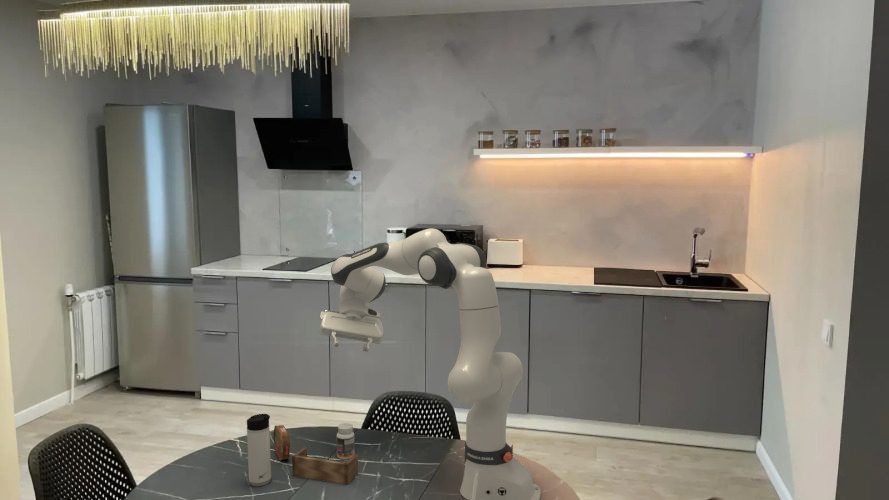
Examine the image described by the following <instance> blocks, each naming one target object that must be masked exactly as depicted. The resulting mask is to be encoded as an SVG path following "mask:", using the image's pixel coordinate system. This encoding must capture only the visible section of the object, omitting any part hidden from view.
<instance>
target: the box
mask: <svg viewBox="0 0 889 500" xmlns="http://www.w3.org/2000/svg"><path fill="white" fill-rule="evenodd" d="M358 456H359V455H358V454H356V453H355V454H354V455H353V456H352V457H351V458H350V459H347V460H346V462H343V461H336V460H329V459H323V458H322V459H321V458H316V457H309V456H308V447H306V446H304V447H302V448H301V449H300V450H298V451H297V452H296V453H294V454H293V455H292V456H291V461H292V462H291V463H292V464H291V465H292V466H291V467H292V476H293V477H299V478H305V479H311V480H316V481H317V480H318V481H323V482H328V483H329V482H330V483H335V484H336V483H337V484H341V485H342V484H343V485H346V486H347V485H349V484H350V483H351V482H352V481H353V480H354V478H356V477H357V475H358V474H359V459H358V458H359V457H358Z"/></svg>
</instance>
